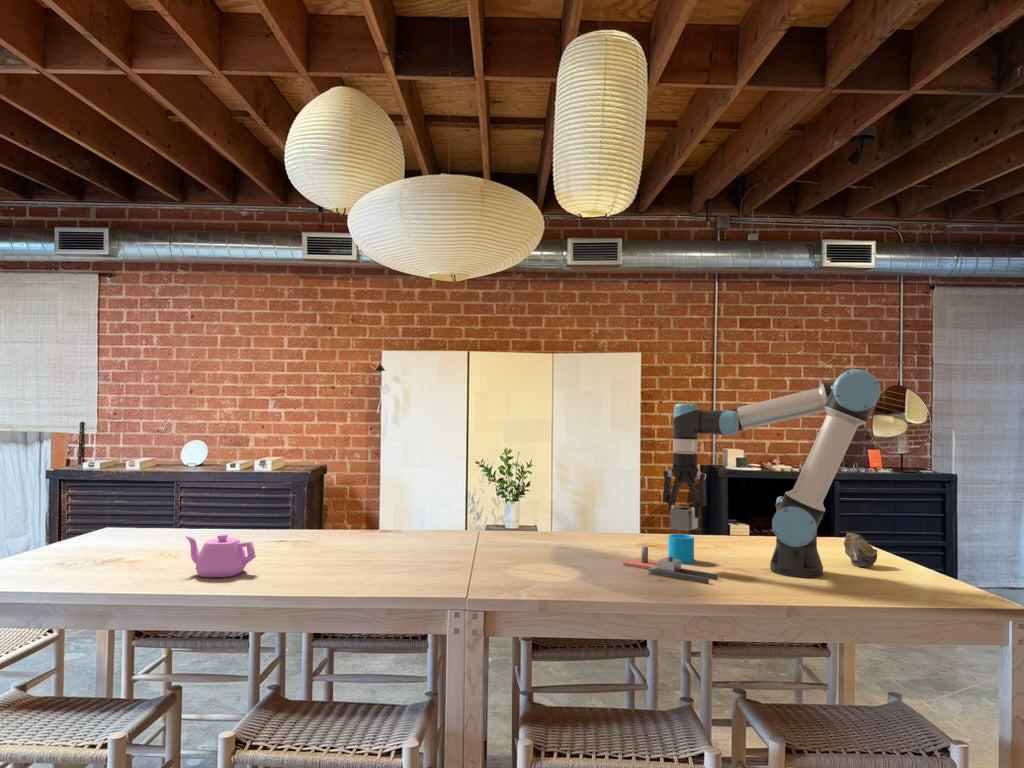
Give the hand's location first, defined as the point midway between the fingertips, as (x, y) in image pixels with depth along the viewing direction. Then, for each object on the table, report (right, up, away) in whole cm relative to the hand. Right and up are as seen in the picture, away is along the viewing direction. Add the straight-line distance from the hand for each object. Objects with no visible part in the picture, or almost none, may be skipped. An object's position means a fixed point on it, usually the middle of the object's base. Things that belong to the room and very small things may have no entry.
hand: (684, 526), depth 213 cm
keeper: (-11, -13, +5) cm, 18 cm away
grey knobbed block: (-6, -13, -8) cm, 16 cm away
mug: (+2, -14, +13) cm, 19 cm away
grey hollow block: (0, 0, 0) cm, 0 cm away
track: (-3, -12, -11) cm, 17 cm away
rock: (+59, -15, +9) cm, 62 cm away
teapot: (-138, -10, -18) cm, 139 cm away
